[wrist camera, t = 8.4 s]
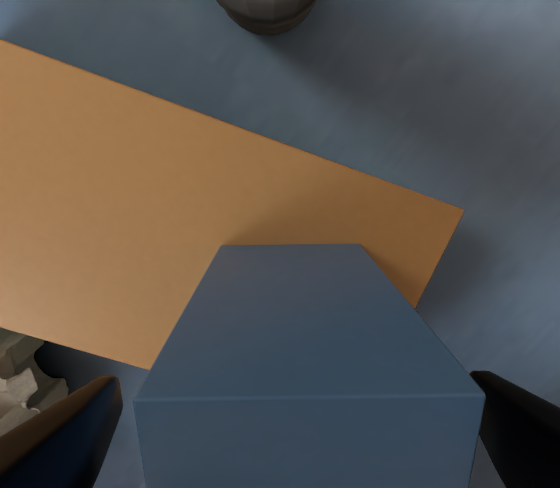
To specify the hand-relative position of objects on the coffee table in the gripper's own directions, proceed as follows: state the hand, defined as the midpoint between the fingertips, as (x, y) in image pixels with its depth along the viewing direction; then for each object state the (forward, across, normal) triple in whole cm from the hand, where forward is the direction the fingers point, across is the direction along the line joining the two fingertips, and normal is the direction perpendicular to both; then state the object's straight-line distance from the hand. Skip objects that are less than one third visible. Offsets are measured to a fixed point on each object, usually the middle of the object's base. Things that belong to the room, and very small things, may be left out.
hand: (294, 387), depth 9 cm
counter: (+9, +5, -2) cm, 11 cm away
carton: (+5, 0, 0) cm, 5 cm away
